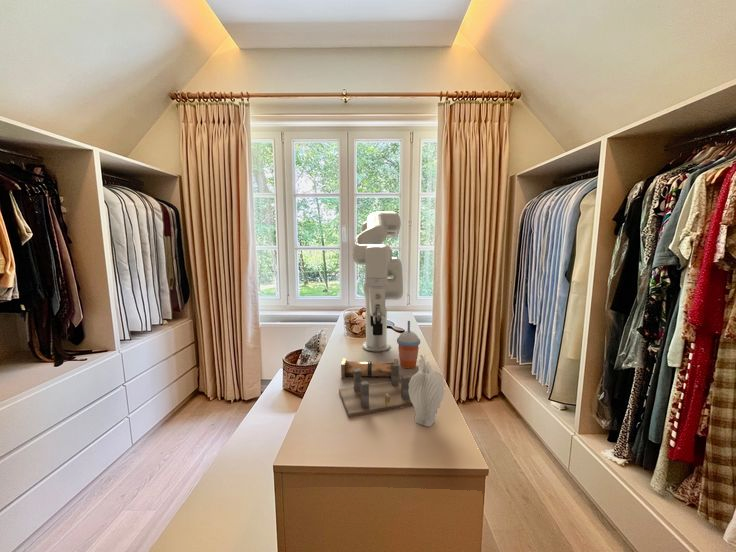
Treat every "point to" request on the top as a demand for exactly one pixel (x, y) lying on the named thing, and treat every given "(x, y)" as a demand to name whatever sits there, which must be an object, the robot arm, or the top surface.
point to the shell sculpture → (426, 392)
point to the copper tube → (366, 368)
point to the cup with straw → (408, 348)
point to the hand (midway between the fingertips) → (376, 330)
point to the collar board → (376, 394)
